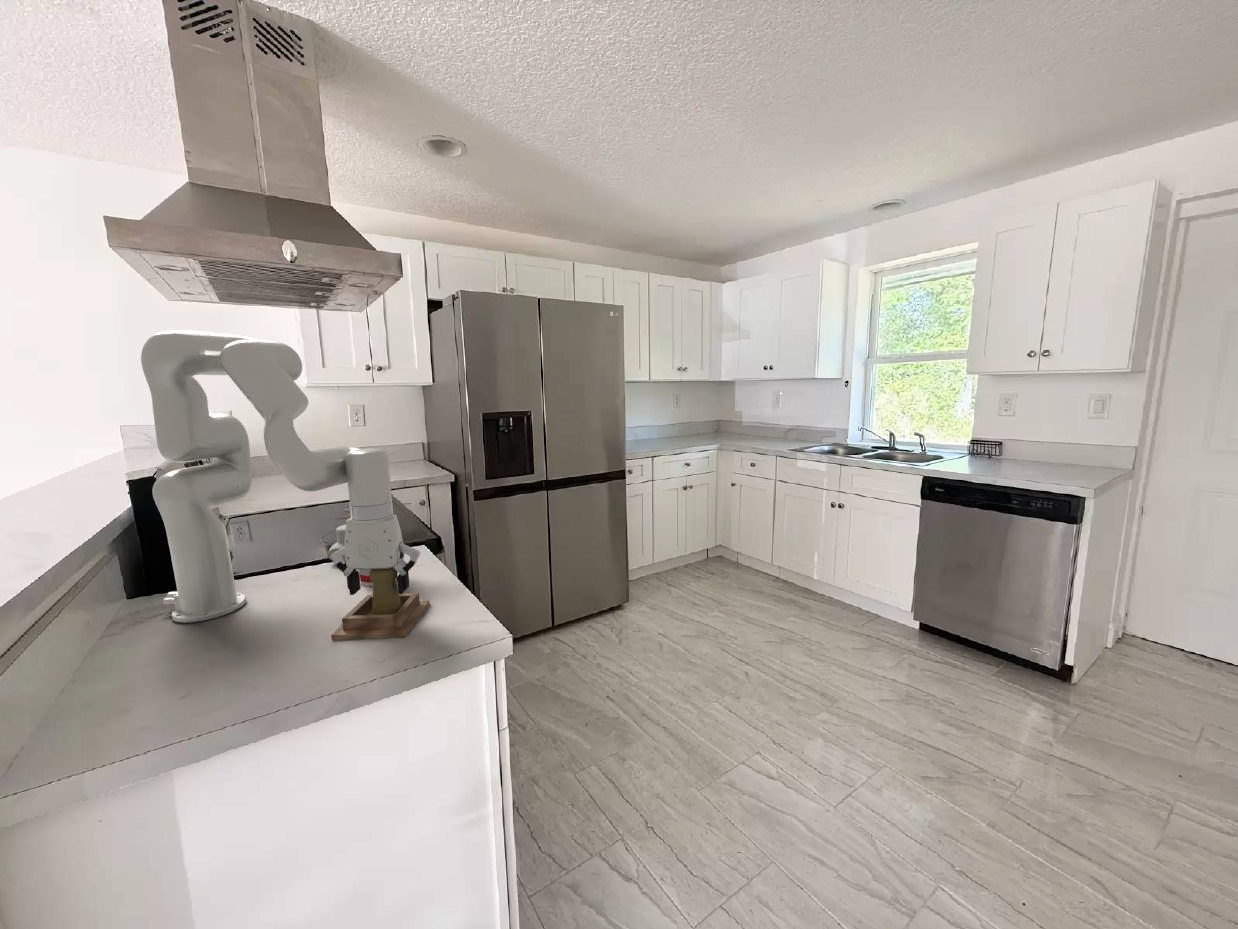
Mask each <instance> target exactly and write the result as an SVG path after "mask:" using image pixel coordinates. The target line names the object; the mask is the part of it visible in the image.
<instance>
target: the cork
mask: <svg viewBox="0 0 1238 929" xmlns="http://www.w3.org/2000/svg"><path fill="white" fill-rule="evenodd" d="M398 575H399V573H398V572H397V571H396V570H395V569H394V568H389V569H371V571H370V574H369V577H370V580H371V582H372V583H373V586H372V594H373V602H372V615H386V614H396V613H397V611H398V610H399V609H400V608H401V607H402V604H401V600H400V596H399V593H398V583H397V576H398Z"/></svg>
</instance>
